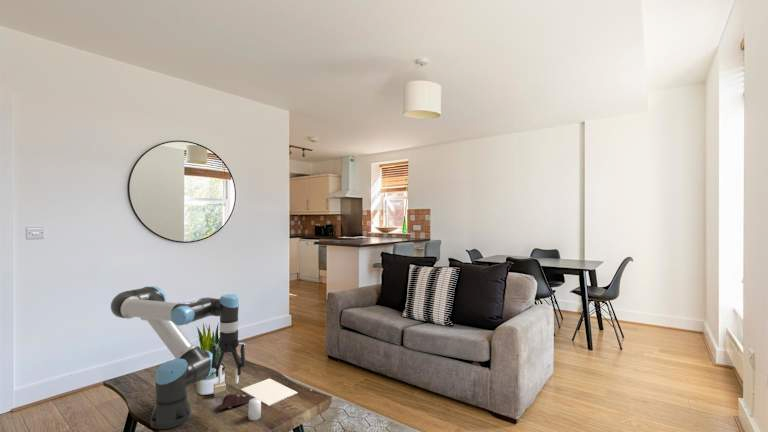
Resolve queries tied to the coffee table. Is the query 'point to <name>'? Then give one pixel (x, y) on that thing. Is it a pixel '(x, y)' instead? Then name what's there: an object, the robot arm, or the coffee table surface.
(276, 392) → the cream mat
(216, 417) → the coffee table surface
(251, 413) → the white cylinder
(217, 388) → the beech block
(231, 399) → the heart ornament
